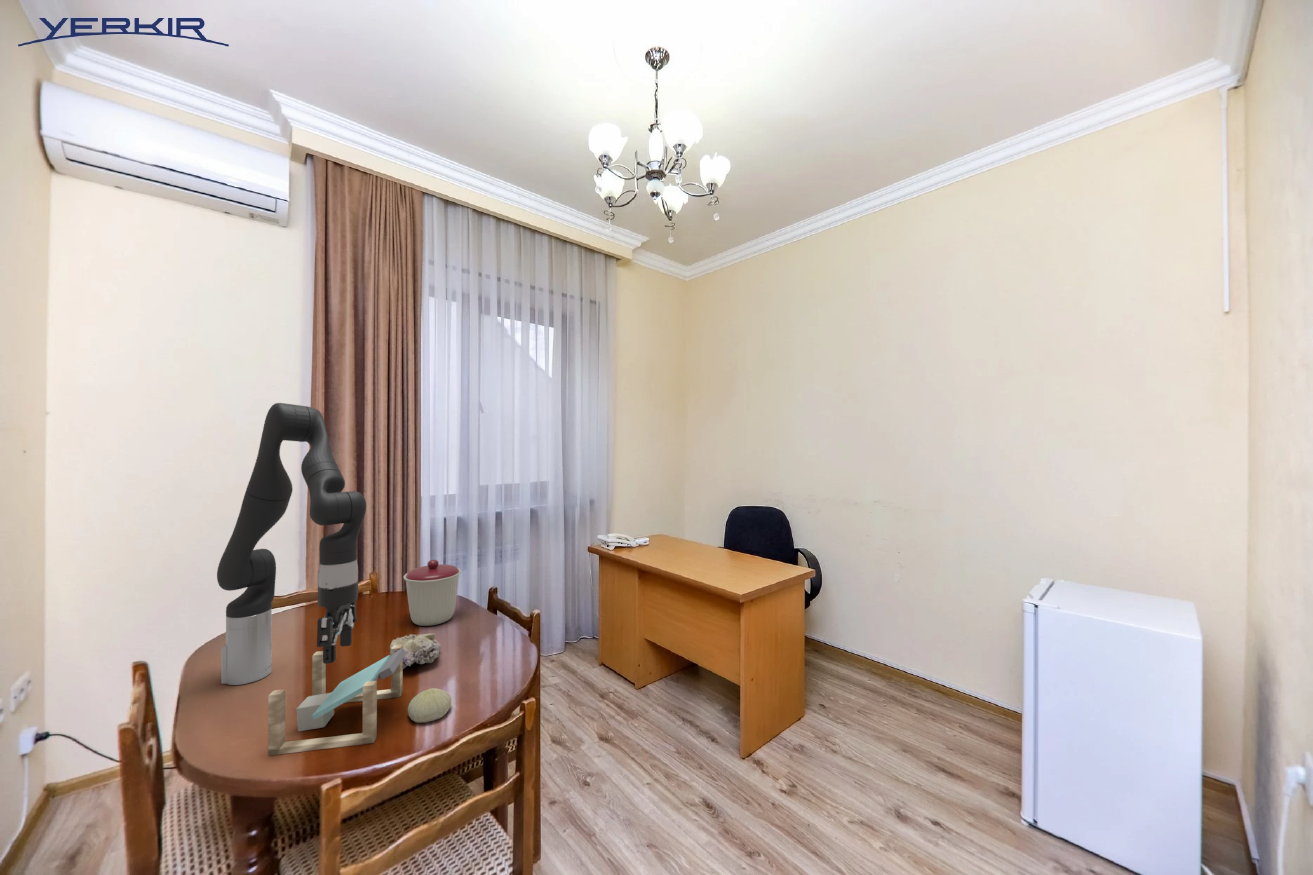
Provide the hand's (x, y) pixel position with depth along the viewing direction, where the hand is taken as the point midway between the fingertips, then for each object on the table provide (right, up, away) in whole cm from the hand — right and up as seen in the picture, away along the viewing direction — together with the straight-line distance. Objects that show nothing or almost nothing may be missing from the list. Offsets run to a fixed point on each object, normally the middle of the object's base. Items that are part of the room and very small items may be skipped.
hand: (337, 653), depth 107 cm
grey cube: (-2, -12, 0) cm, 12 cm away
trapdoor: (+5, -7, +1) cm, 9 cm away
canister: (-6, -15, +59) cm, 61 cm away
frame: (+1, -15, 0) cm, 15 cm away
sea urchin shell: (+19, -16, +3) cm, 25 cm away
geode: (+4, -16, +29) cm, 33 cm away
